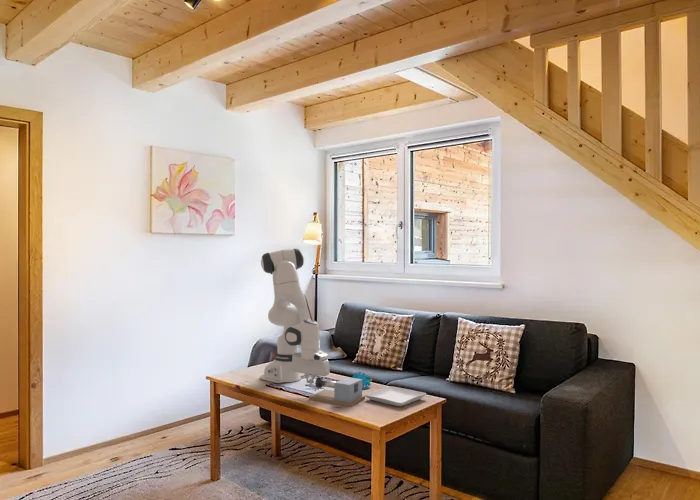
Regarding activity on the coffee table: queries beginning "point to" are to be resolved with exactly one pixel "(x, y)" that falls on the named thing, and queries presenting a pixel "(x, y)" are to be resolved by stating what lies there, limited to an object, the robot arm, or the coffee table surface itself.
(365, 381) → the gear
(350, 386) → the bearing block
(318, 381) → the shaft
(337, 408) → the coffee table surface
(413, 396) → the salad plate
